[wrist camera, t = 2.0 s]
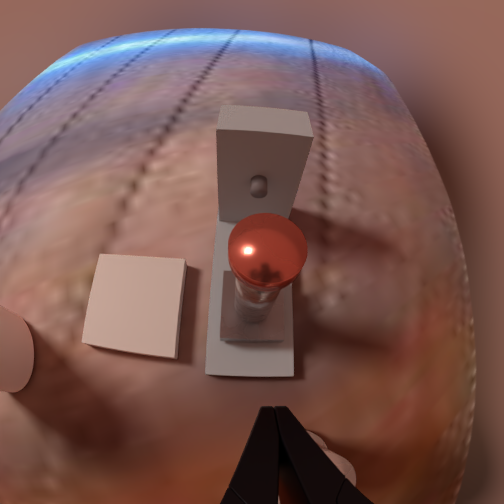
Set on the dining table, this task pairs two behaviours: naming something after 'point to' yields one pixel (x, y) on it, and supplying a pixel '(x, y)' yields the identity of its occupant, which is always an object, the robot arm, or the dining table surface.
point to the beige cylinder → (14, 352)
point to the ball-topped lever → (260, 277)
